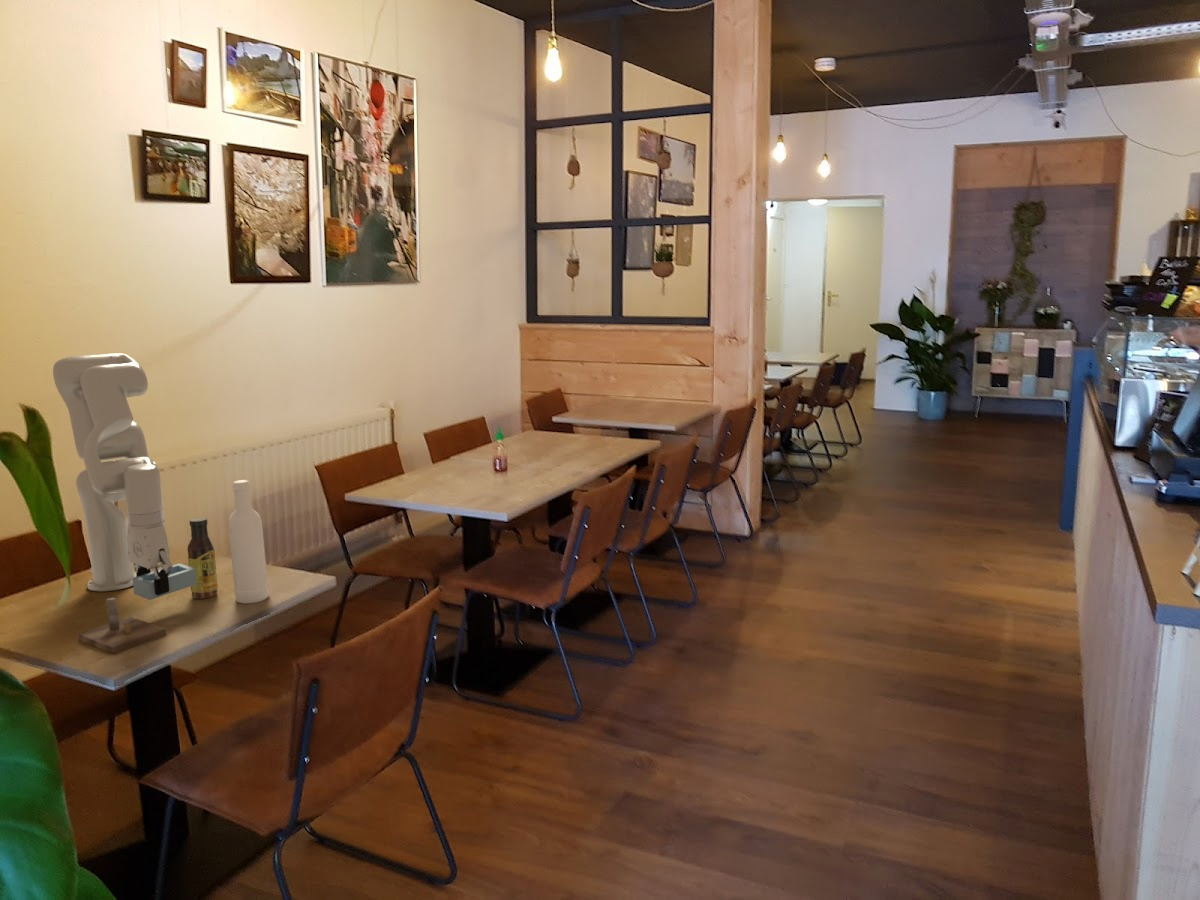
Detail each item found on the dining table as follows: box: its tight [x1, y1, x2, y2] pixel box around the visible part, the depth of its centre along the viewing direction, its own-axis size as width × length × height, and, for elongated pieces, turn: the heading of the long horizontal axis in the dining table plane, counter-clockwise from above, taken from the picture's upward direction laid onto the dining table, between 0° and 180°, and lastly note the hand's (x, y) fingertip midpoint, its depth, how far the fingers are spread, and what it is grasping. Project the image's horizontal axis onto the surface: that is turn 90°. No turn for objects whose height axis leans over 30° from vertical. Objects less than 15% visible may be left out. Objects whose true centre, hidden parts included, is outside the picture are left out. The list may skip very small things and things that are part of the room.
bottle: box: [227, 479, 270, 605], centre depth 226 cm, size 8×8×30 cm
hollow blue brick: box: [132, 562, 197, 601], centre depth 218 cm, size 12×6×4 cm, turn 147°
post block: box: [78, 597, 167, 655], centre depth 205 cm, size 14×12×8 cm
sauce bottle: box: [187, 517, 219, 600], centre depth 229 cm, size 6×6×20 cm
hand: (153, 589), depth 216 cm, fingers closed on hollow blue brick, 6 cm apart
